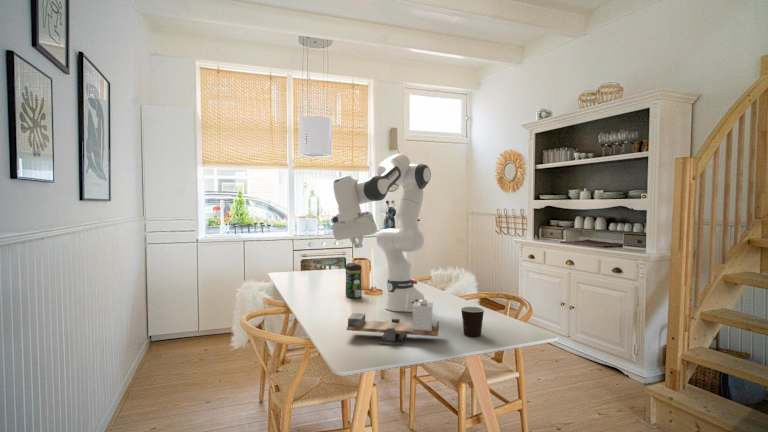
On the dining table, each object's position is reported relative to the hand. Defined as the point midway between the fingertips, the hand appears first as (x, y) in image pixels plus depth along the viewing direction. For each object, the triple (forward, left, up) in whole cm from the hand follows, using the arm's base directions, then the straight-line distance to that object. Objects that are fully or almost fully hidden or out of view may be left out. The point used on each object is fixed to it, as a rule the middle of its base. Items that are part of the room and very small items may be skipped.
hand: (358, 247), depth 172 cm
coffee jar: (-28, -51, -33) cm, 67 cm away
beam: (-3, +19, -29) cm, 35 cm away
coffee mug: (-32, +33, -33) cm, 57 cm away
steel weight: (-11, +27, -29) cm, 41 cm away
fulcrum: (-3, +19, -33) cm, 38 cm away
